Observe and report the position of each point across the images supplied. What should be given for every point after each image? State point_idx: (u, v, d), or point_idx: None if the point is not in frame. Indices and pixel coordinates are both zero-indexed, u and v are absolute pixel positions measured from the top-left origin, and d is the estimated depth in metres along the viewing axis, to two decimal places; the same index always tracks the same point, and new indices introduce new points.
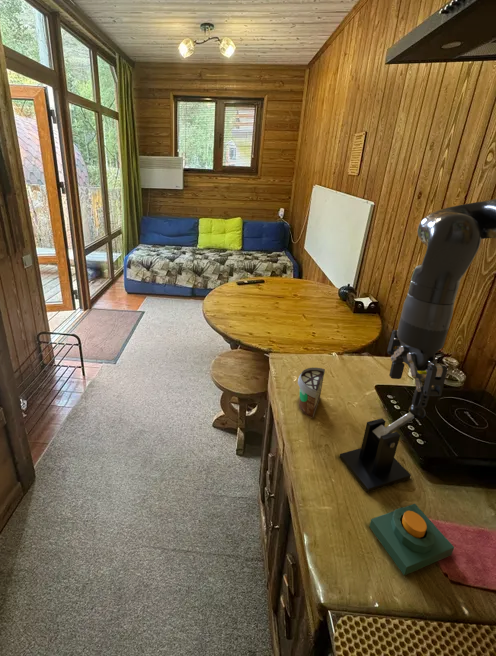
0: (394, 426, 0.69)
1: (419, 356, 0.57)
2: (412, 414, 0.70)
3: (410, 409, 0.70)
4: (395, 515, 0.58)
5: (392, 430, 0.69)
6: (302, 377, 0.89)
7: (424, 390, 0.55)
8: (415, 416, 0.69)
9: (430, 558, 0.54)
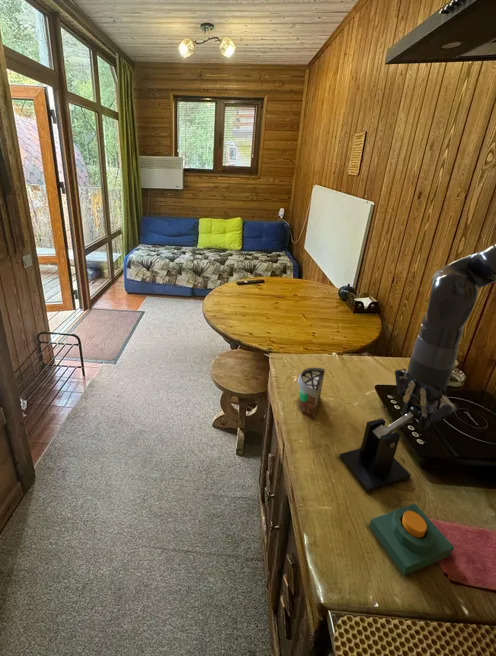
0: (394, 426, 0.69)
1: (434, 391, 0.65)
2: (412, 414, 0.70)
3: (410, 409, 0.70)
4: (395, 515, 0.58)
5: (392, 430, 0.69)
6: (302, 377, 0.89)
7: (432, 417, 0.65)
8: (415, 416, 0.69)
9: (430, 558, 0.54)
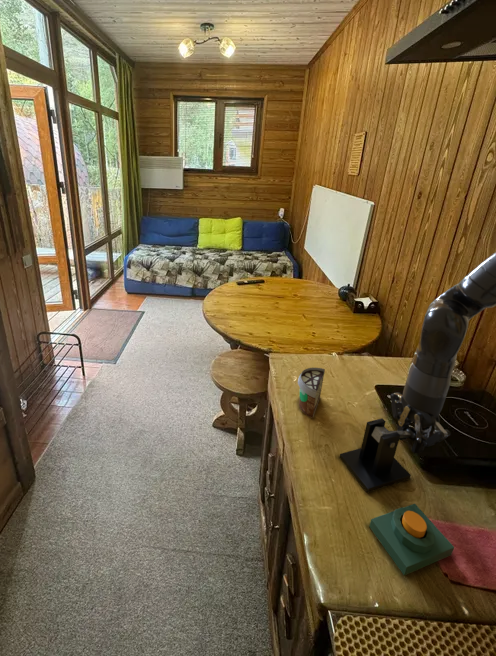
0: None
1: (427, 417, 0.67)
2: (410, 433, 0.72)
3: (408, 428, 0.73)
4: (395, 515, 0.58)
5: None
6: (302, 377, 0.89)
7: (426, 443, 0.68)
8: (412, 435, 0.71)
9: (430, 558, 0.54)
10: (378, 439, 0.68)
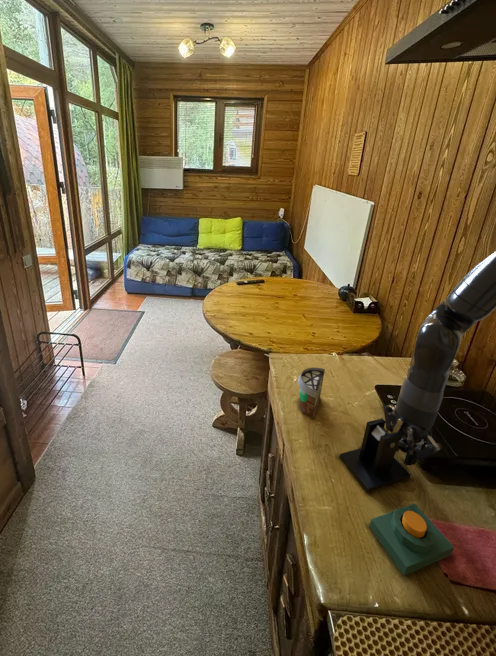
0: None
1: (420, 431, 0.68)
2: (404, 442, 0.72)
3: (403, 439, 0.73)
4: (395, 515, 0.58)
5: None
6: (302, 377, 0.89)
7: (418, 456, 0.68)
8: (405, 445, 0.72)
9: (430, 558, 0.54)
10: (378, 437, 0.68)
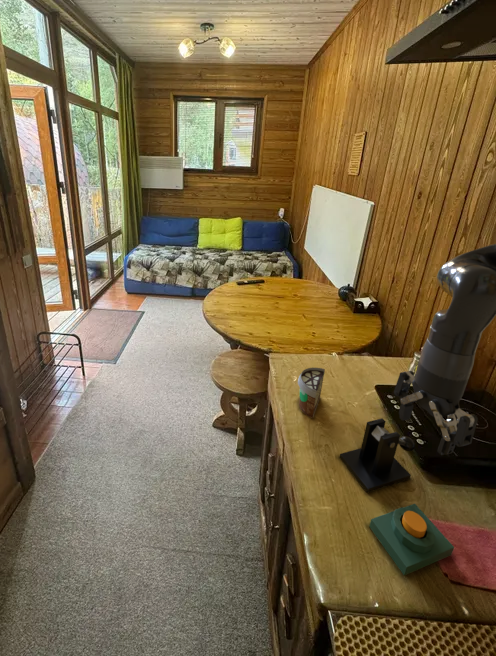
0: None
1: (445, 405, 0.55)
2: (405, 441, 0.72)
3: (404, 437, 0.73)
4: (395, 515, 0.58)
5: None
6: (302, 377, 0.89)
7: (456, 441, 0.54)
8: (407, 444, 0.72)
9: (430, 558, 0.54)
10: (378, 438, 0.68)
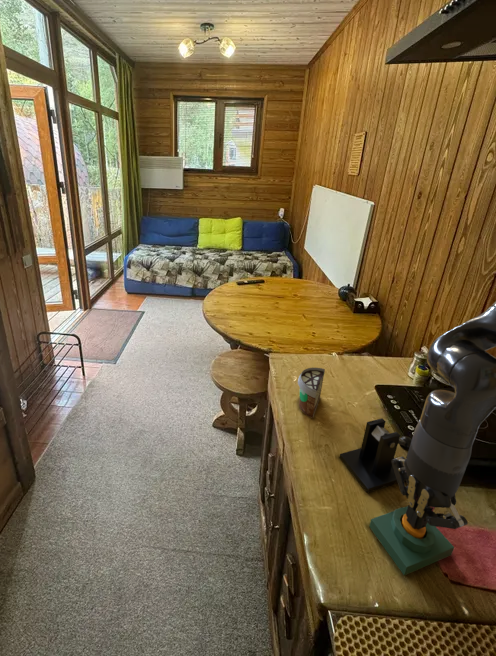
0: None
1: (440, 496, 0.50)
2: (405, 441, 0.72)
3: (404, 437, 0.73)
4: (395, 515, 0.58)
5: None
6: (302, 377, 0.89)
7: (429, 520, 0.52)
8: (407, 444, 0.72)
9: (430, 558, 0.54)
10: (378, 438, 0.68)
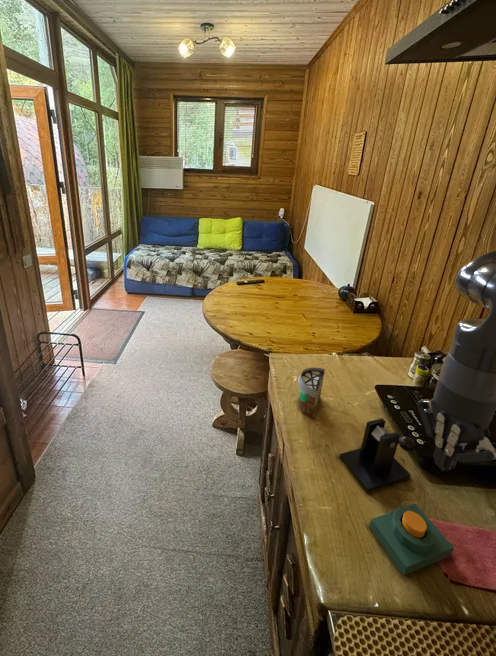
0: None
1: (472, 430, 0.48)
2: (405, 441, 0.72)
3: (404, 437, 0.73)
4: (395, 515, 0.58)
5: None
6: (302, 377, 0.89)
7: (460, 457, 0.50)
8: (407, 444, 0.72)
9: (430, 558, 0.54)
10: (378, 438, 0.68)
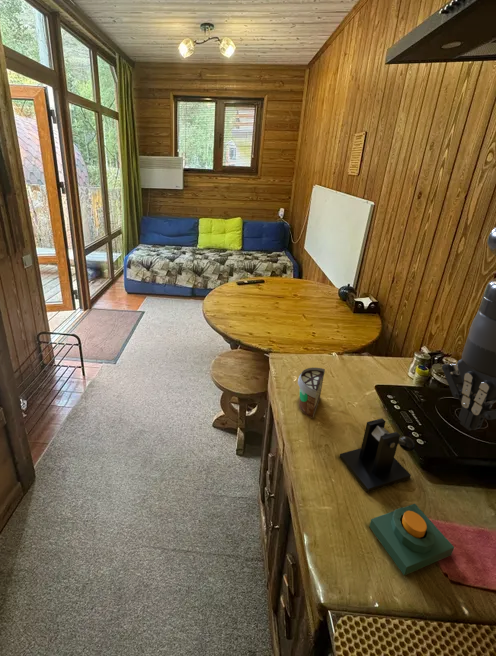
0: None
1: None
2: (405, 441, 0.72)
3: (404, 437, 0.73)
4: (395, 515, 0.58)
5: None
6: (302, 377, 0.89)
7: (488, 415, 0.51)
8: (407, 444, 0.72)
9: (430, 558, 0.54)
10: (378, 438, 0.68)
